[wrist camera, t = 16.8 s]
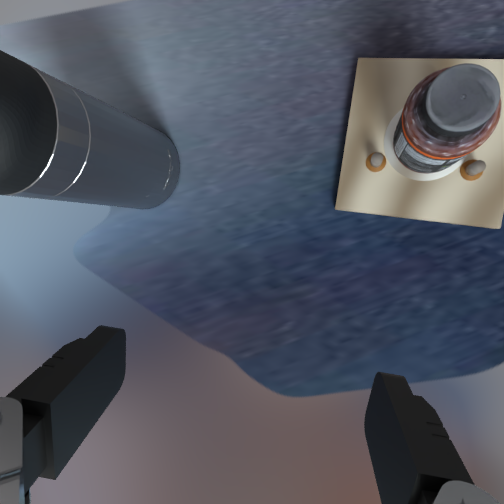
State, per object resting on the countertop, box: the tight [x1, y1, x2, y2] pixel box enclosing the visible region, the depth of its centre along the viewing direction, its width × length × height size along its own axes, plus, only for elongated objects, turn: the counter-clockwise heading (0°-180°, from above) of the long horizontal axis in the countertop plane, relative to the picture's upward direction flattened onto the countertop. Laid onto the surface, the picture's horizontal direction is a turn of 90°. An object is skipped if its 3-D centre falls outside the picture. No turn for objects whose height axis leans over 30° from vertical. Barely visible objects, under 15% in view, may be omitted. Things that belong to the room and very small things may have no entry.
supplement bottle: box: [393, 63, 501, 174], centre depth 27 cm, size 6×6×11 cm
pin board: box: [335, 58, 504, 229], centre depth 32 cm, size 14×14×3 cm
